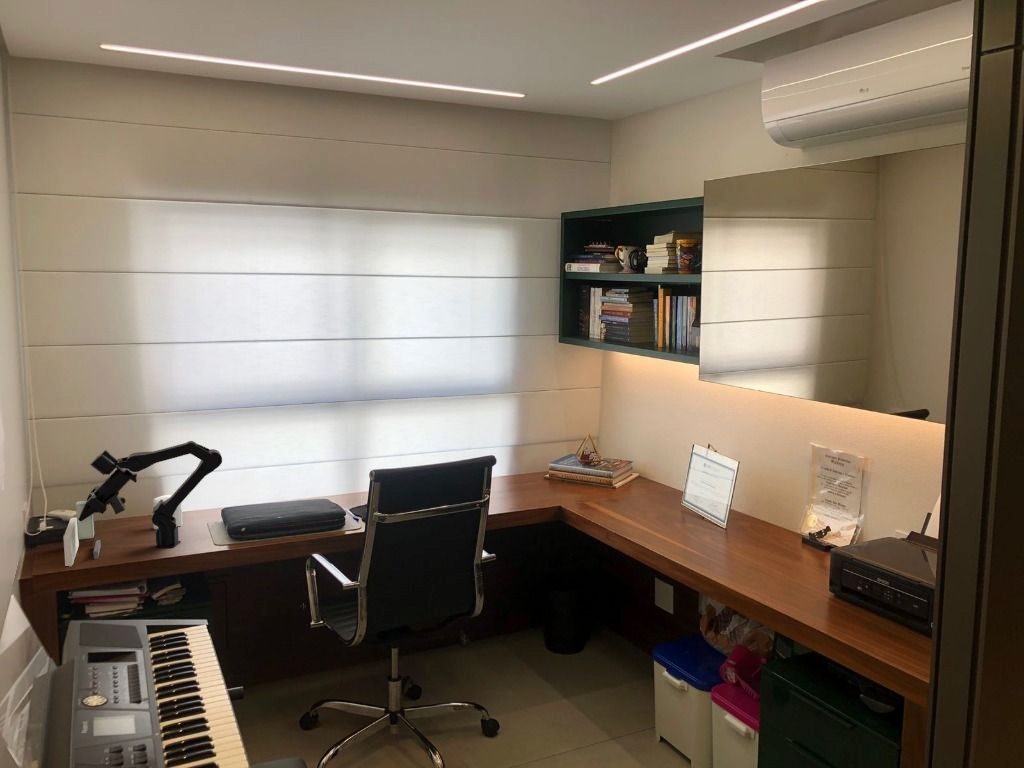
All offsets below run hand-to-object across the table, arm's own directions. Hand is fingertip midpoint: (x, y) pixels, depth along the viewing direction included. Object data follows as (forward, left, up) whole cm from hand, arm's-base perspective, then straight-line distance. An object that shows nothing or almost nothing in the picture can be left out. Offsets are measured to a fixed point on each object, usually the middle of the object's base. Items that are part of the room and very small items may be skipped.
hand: (80, 518), depth 279 cm
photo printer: (-14, -33, -13) cm, 39 cm away
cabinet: (-1, -1, -7) cm, 7 cm away
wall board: (-1, 0, -13) cm, 13 cm away
